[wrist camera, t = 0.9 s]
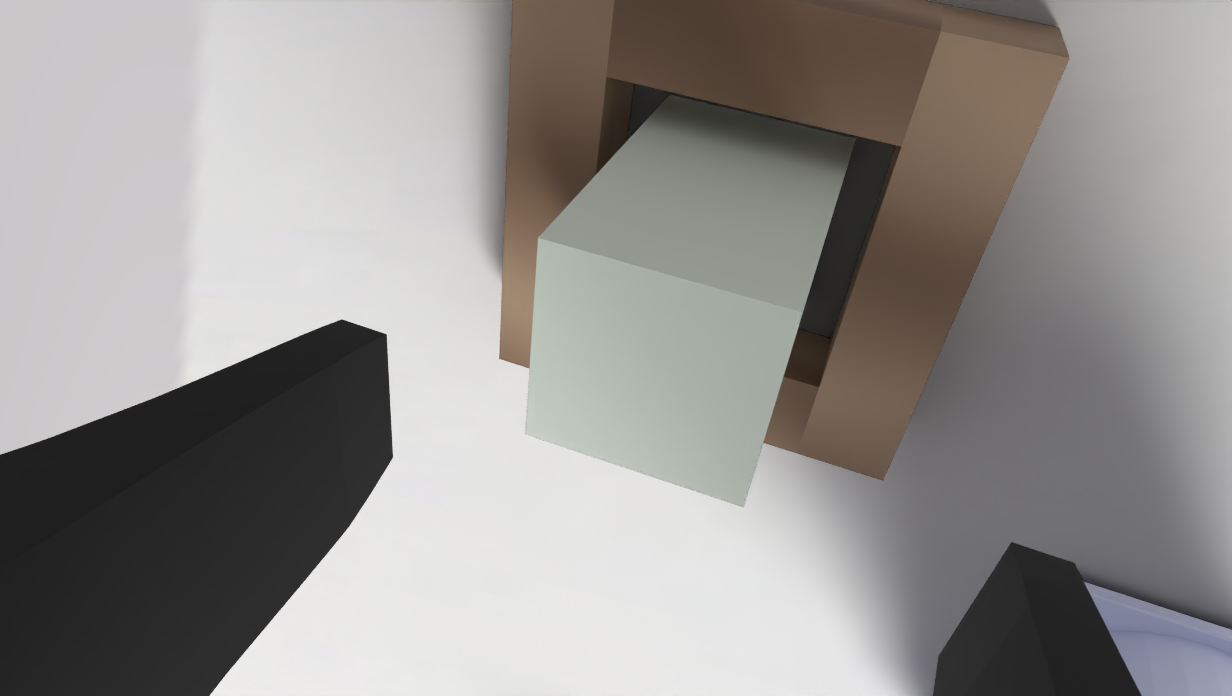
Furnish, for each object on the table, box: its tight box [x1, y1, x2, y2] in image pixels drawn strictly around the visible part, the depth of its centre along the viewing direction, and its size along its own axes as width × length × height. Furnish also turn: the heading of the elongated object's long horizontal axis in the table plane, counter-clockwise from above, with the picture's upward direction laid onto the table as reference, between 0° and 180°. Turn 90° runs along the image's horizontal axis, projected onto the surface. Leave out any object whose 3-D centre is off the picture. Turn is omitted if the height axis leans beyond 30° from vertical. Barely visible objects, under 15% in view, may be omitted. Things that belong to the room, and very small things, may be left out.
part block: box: [525, 95, 856, 507], centre depth 16 cm, size 4×4×7 cm
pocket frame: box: [499, 0, 1069, 480], centre depth 18 cm, size 10×10×2 cm
